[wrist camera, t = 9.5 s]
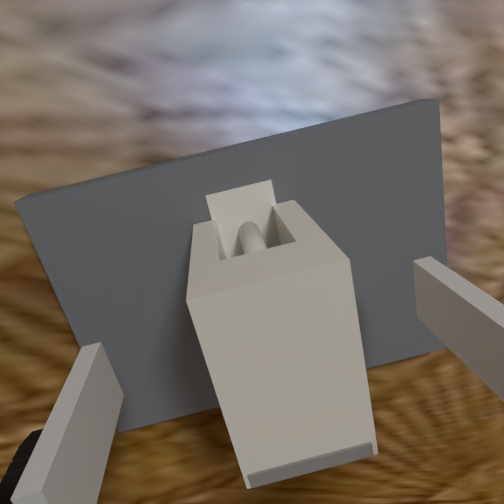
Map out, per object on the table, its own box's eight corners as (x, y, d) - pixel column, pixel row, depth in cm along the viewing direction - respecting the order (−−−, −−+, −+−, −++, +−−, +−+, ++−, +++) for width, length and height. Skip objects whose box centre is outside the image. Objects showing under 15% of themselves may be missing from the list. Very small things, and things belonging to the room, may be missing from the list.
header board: (123, 414, 25) (99, 505, 19) (27, 194, 20) (-44, 231, 14) (437, 333, 25) (503, 399, 19) (422, 99, 20) (507, 97, 14)
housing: (233, 359, 22) (247, 491, 15) (193, 224, 19) (185, 302, 12) (320, 336, 22) (379, 456, 15) (294, 199, 19) (350, 260, 12)
